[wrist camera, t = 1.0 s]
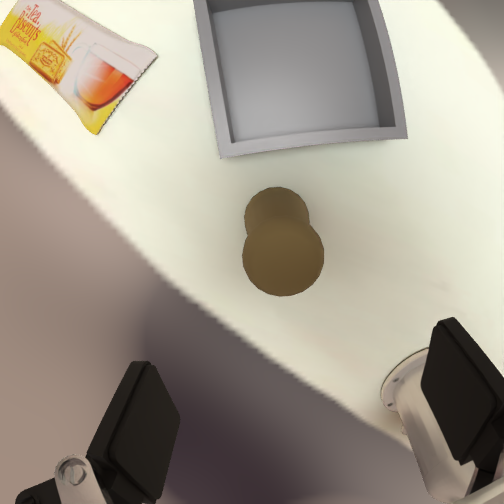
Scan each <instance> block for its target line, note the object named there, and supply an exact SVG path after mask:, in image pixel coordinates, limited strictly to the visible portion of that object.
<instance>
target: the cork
mask: <svg viewBox="0 0 504 504" xmlns="http://www.w3.org/2000/svg"><path fill="white" fill-rule="evenodd" d="M244 219H245V227H246V231H247V235H248V237H247V238H246V240H245V245H244V249H243V253H242V258H243V267H244V269H245V271H246V273H247V275H248V277H249V279H250V281H251V282H252V283H253V284H254V285H255V286H256V287H257V288H258V289H260V290H262V291H264V292H265V293H267V294H270V295H275V296H292V295H295V294H298V293H300V292H303V291H304V290H306V289H307V288H309V287H310V286H311V285H313V283H314V282H315V281H316V279H317V278H318V277H319V275H320V273H321V270H322V267H323V264H324V248H323V245H322V242H321V239H320V237H319V235H318V234H317V233H316V232H315V230H314V229H313V228H312V227H311V225H309V213H308V210H307V207H306V204H305V202H304V201H303V200H302V199H301V197H300V196H299V195H298V194H296V193H294V192H293V191H291V190H289V189H285V188H282V187H274V188H268V189H265V190H263V191H260V192H259V193H258V194H256V195H255V196H254V197H253V198H252V199H251V200H250V202H249V204H248V205H247V207H246V211H245V215H244Z"/></svg>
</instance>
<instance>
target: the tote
mask: <svg viewBox="0 0 504 504" xmlns="http://www.w3.org/2000/svg"><path fill="white" fill-rule="evenodd" d="M193 2H194V9H195V15H196V21H197V27H198V33H199V39H200V46H201V52H202V58H203V64H204V69H205V75H206V81H207V87H208V93H209V99H210V104H211V110H212V116H213V121H214V127H215V133H216V138H217V144H218V149H219V155H220V159H222V158H228V157H233V156H239V155H245V154H251V153H257V152H264V151H271V150H278V149H285V148H293V147H301V146H310V145H320V144H330V143H341V142H354V141H368V140H388V139H408V136H407V128H406V120H405V113H404V106H403V100H402V94H401V88H400V83H399V78H398V73H397V68H396V63H395V59H394V55H393V50H392V46H391V42H390V39H389V35H388V31H387V28H386V24H385V21H384V17H383V14H382V11H381V8H380V5H379V2H378V0H193Z"/></svg>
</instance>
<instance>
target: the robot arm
mask: <svg viewBox="0 0 504 504" xmlns="http://www.w3.org/2000/svg"><path fill="white" fill-rule="evenodd" d="M381 398H382V401H383V404H384V406H385V407H386V408H387V409H389V410H391V411H394V412H399V415H400V418H401V420H402V423H403V426H402V428H401V432H402V433H403V434H405V435H407V436H408V438H409V441H410V444H411V447H412V449H413V452H414V455H415V458H416V460H417V463H418V466H419V469H420V472H421V475H422V478H423V481H424V484H425V487H426V489H427V492H428V493H429V494H430V495H431V496H432V497H433V498H434V499H436V500H438V501H440V502H443V503H447V504H504V378H503V376H502V375H501V374H500V372H499V371H498V370H497V368H496V367H495V366H494V364H493V363H492V362H491V361H490V359H489V358H488V357H487V355H486V354H485V353H484V352H483V350H482V349H481V348H480V347H479V346H478V344H477V343H476V342H475V341H474V339H473V338H472V337H471V336H470V335H469V333H468V332H467V331H466V330H465V329H464V328H463V326H462V325H461V324H460V323H459V322H458V321H457V320H456V319H455V318H454V317H451V318H447V319H444V320H440V321H438V323H437V325H436V326H435V327H434V328H433V331H432V336H431V341H430V345H429V349H425V350H423V351H420V352H418V353H416V354H414V355H412V356H411V357H409V358H408V359H406V360H405V361H403V362H402V363H401V364H400V365H399V366H397V367H396V368H395V369H394V370H393V371H392V373H391V374H390V375H389V376H388V378H387V379H386V381H385V383H384V385H383V387H382V390H381ZM179 424H180V415H179V413H178V411H177V409H176V407H175V405H174V403H173V401H172V399H171V397H170V395H169V393H168V391H167V389H166V388H165V385H164V383H163V381H162V379H161V377H160V375H159V373H158V371H157V369H156V367H155V366H154V365H151V363H150V362H148V361H133V362H131V364H130V365H129V367H128V369H127V371H126V373H125V375H124V377H123V379H122V381H121V383H120V385H119V386H118V388H117V390H116V392H115V394H114V396H113V398H112V401H111V402H110V404H109V406H108V408H107V410H106V412H105V415H104V417H103V419H102V421H101V423H100V425H99V427H98V429H97V431H96V433H95V435H94V438H93V440H92V442H91V444H90V446H89V449H88V451H87V455H86V457H83V456H81V455H74V454H73V455H69V456H67V457H65V458H63V459H62V460H61V461H60V462H59V463H58V464H57V466H56V468H55V472H54V475H55V478H52V479H50V480H48V481H45V482H43V483H41V484H38V485H36V486H33V487H31V488H28V489H26V490H24V491H22V492H21V493H20V494H19V495H18V496H17V498H16V502H15V504H142V503H145V504H155V503H156V499H159V498H160V497H161V495H162V491H163V487H164V483H165V479H166V475H167V471H168V467H169V463H170V459H171V455H172V451H173V447H174V443H175V440H176V436H177V432H178V428H179Z"/></svg>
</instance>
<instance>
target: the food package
mask: <svg viewBox="0 0 504 504" xmlns="http://www.w3.org/2000/svg"><path fill="white" fill-rule="evenodd" d="M0 45H3V46H5V47H7V48H8V49H9V50H11V51H12V52H13V53H15V54H16V55H17V56H19V57H20V58H21V59H22V60H23V61H24V62H26V63H27V64H28V65H29V66H30V67H31V68H32V69H33V70H34V71H35V72H36V73H38V74H39V75H40V76H41V77H42V78H43V79H44V80H45V81H46V82H47V83H48V84H49V85H50V86H51V87H52V88H53V89H54V90H55V91H56V92H57V93H58V94H59V95H60V96H61V97H62V98H63V99H64V100H65V101H66V102H67V103H68V104H69V105H70V106H71V107H72V109H73V110H74V111H75V112H76V113H77V115H78V116H79V118H80V120H81V122H82V123H83V125H84V126H85V127H86V129H87V130H88V131H90V132H91V133H92V134H95V135H97V133H98V131H100V129H101V126H103V124H105V120H107V119H108V116H110V115H111V112H113V109H114V108H116V105H117V104H119V101H120V100H122V97H123V96H125V93H126V92H128V89H129V88H131V85H133V84H134V82H135V81H136V80H138V77H140V76H141V73H143V72H144V69H147V66H149V65H150V63H152V62H151V61H153V59H155V57H157V55H156V53H155V52H154V51H152V50H151V49H150V48H148V47H146V46H144V45H141V44H137V43H134V42H131V41H128V40H126V39H125V38H123V37H121V36H119V35H117V34H116V33H114V32H112V31H110V30H108V29H107V28H105V27H103V26H101V25H100V24H98V23H96V22H95V21H93V20H91V19H90V18H88V17H86V16H85V15H83V14H81V13H80V12H78V11H77V10H75V9H73V8H72V7H70V6H68V5H66V4H65V3H63V2H62V1H60V0H18V1H17V3H16V4H15V5H14V7H13V8H12V9H11V11H10V12H9V14H8V15H7V17H6V19H5V20H4V22H3V23H2V25H1V26H0Z"/></svg>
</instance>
